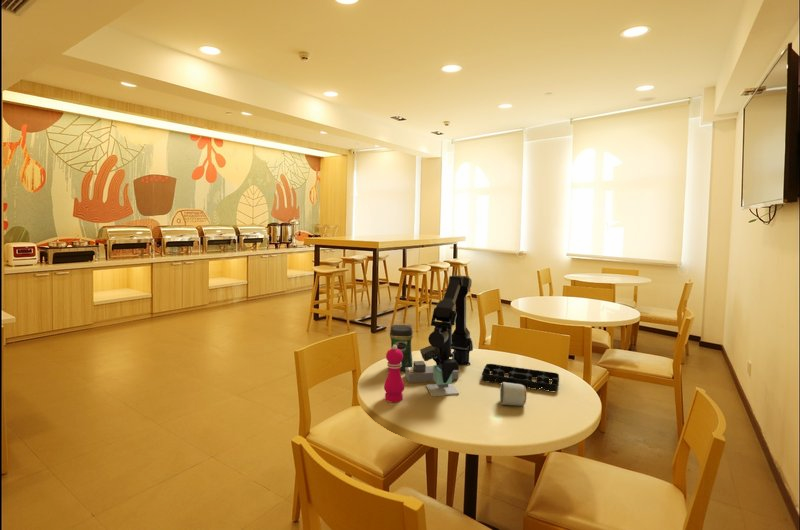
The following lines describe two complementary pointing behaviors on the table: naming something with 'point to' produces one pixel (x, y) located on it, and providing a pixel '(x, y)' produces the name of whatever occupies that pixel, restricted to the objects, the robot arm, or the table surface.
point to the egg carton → (521, 376)
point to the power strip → (422, 372)
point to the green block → (440, 377)
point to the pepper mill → (394, 376)
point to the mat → (442, 390)
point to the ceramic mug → (512, 394)
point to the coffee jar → (402, 343)
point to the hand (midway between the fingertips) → (442, 379)
